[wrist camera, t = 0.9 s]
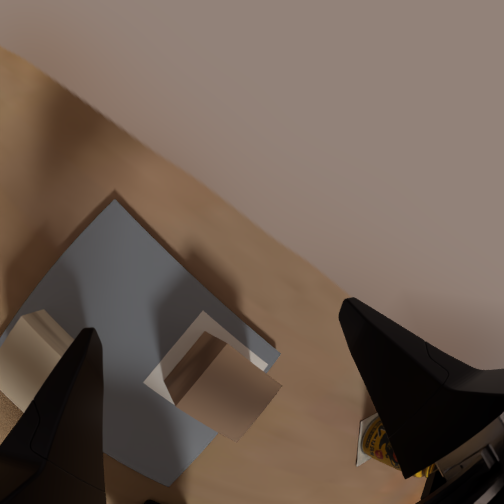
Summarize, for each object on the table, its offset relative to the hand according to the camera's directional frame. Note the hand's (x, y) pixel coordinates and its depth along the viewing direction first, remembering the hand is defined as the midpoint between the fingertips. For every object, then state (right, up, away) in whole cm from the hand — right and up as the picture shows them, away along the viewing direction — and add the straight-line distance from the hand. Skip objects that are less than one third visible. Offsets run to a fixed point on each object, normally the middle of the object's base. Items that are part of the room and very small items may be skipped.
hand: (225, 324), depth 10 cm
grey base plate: (-8, -6, +10) cm, 14 cm away
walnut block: (-2, -7, +11) cm, 13 cm away
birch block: (-13, -5, +6) cm, 16 cm away
